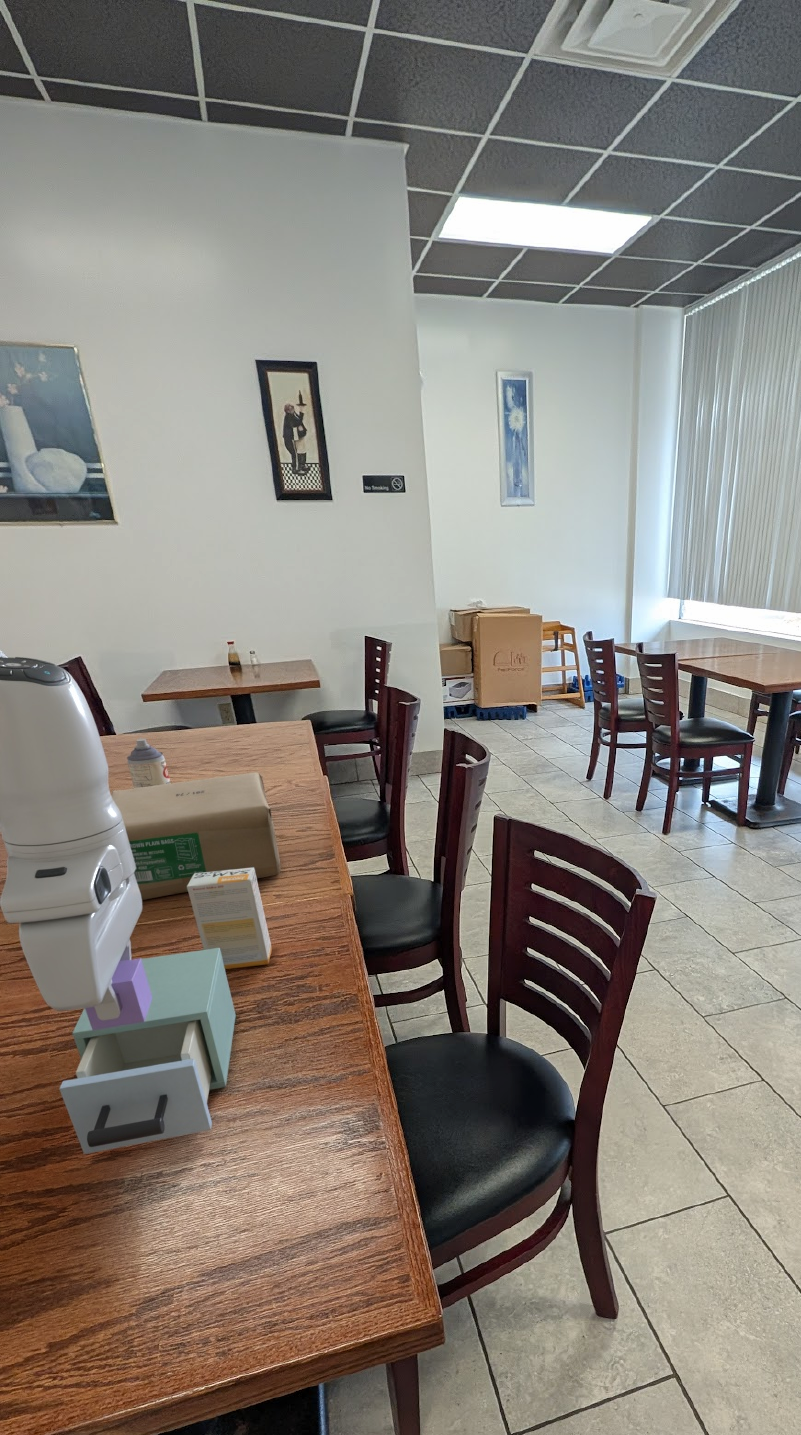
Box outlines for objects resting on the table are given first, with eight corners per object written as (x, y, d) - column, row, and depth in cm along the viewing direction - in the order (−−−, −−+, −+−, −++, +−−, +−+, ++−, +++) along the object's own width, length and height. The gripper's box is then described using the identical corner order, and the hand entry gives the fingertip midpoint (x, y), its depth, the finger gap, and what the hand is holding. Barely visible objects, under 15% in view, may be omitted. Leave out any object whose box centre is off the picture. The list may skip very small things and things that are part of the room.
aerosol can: (186, 836, 156) (163, 740, 147) (151, 844, 152) (125, 745, 143) (178, 828, 161) (155, 734, 152) (144, 835, 157) (119, 739, 149)
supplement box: (273, 949, 109) (256, 865, 103) (269, 965, 105) (251, 879, 99) (213, 955, 108) (193, 871, 102) (207, 972, 104) (185, 885, 98)
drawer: (205, 1165, 69) (186, 1098, 66) (70, 1192, 67) (42, 1124, 63) (222, 1051, 85) (208, 992, 82) (114, 1070, 83) (94, 1010, 79)
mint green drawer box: (226, 1086, 81) (206, 1011, 77) (99, 1109, 78) (71, 1033, 74) (235, 1015, 94) (219, 947, 90) (126, 1032, 91) (105, 963, 87)
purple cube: (92, 1030, 68) (78, 988, 66) (103, 1005, 72) (90, 965, 70) (144, 1022, 69) (132, 980, 67) (152, 997, 73) (141, 957, 71)
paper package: (119, 907, 124) (95, 827, 118) (129, 857, 146) (110, 786, 140) (286, 879, 133) (272, 803, 127) (273, 835, 155) (260, 768, 148)
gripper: (66, 826, 72) (106, 953, 78) (-10, 914, 54) (49, 1069, 60) (137, 818, 73) (171, 944, 79) (85, 902, 55) (134, 1055, 62)
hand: (118, 999), depth 70 cm, fingers closed on purple cube, 4 cm apart
